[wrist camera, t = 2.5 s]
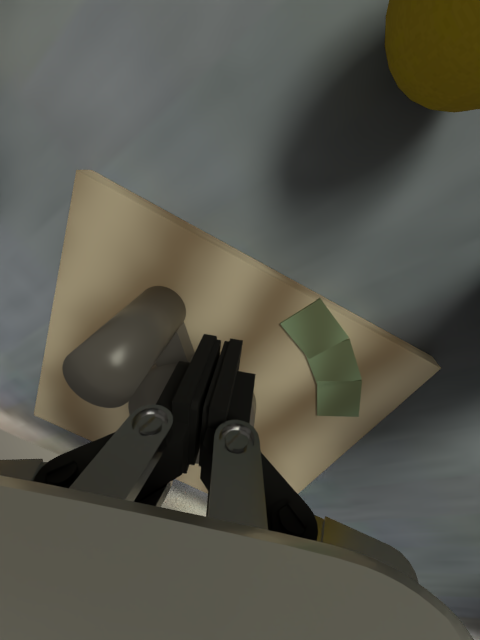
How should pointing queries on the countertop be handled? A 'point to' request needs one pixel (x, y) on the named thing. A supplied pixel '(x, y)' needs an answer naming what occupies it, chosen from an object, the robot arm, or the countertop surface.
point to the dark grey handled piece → (133, 354)
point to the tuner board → (223, 331)
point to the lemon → (435, 52)
